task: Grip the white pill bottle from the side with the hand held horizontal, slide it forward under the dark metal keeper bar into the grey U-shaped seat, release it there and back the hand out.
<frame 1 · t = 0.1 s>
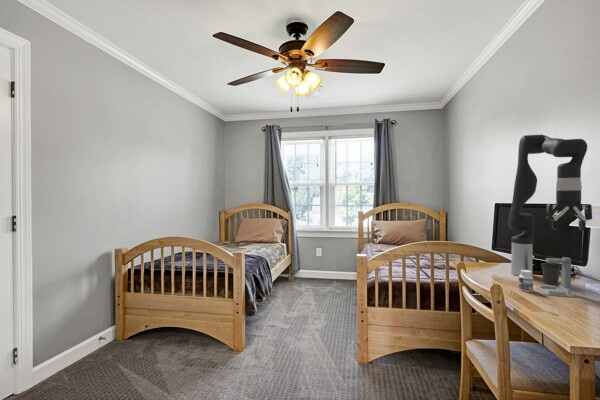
hand: (568, 230, 122), 29 cm above the table, tool pointing down, fingers open, 8 cm apart
coffee cup: (550, 283, 149), on the table
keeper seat: (555, 292, 135), on the table
pill bottle: (525, 290, 138), on the table
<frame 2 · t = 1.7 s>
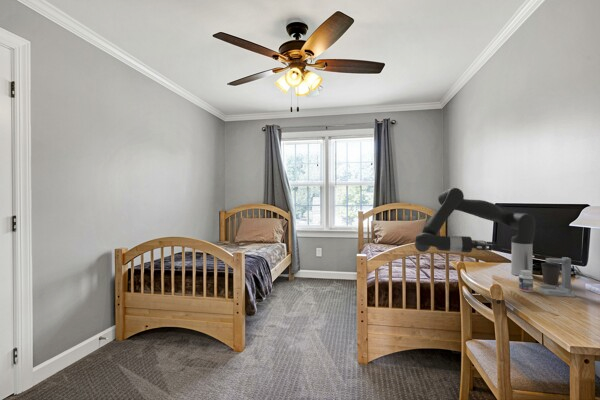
hand: (498, 245, 141), 20 cm above the table, tool horizontal, fingers open, 8 cm apart
nothing on the table moved.
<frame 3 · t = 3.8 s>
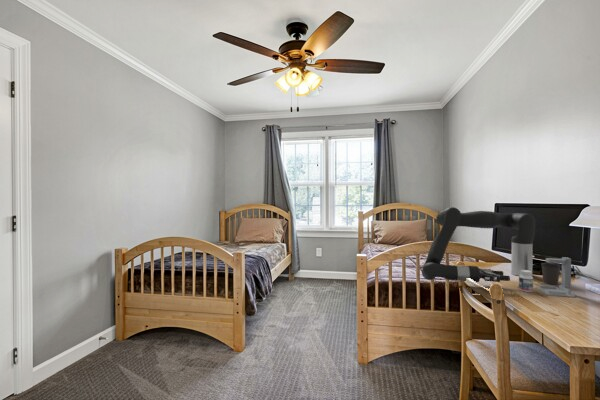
hand: (506, 275, 140), 6 cm above the table, tool horizontal, fingers open, 8 cm apart
nothing on the table moved.
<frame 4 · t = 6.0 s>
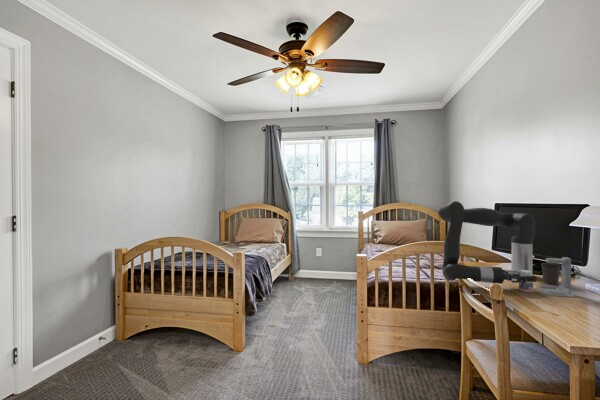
hand: (532, 277, 137), 6 cm above the table, tool horizontal, fingers closed on pill bottle, 5 cm apart
pill bottle: (525, 290, 138), on the table, touching gripper
everything else where it was.
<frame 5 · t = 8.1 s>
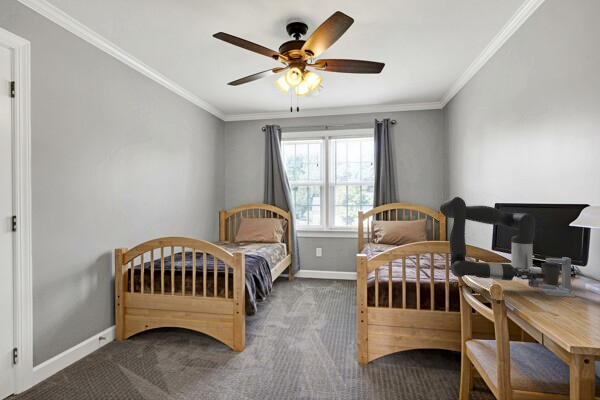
hand: (542, 274, 136), 8 cm above the table, tool horizontal, fingers closed on pill bottle, 5 cm apart
pill bottle: (535, 287, 137), point 1 cm above the table, touching gripper
everything else where it was.
when the fingers open (7 cm above the table, at t = 10.3 s): pill bottle stays where it is, resting on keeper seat.
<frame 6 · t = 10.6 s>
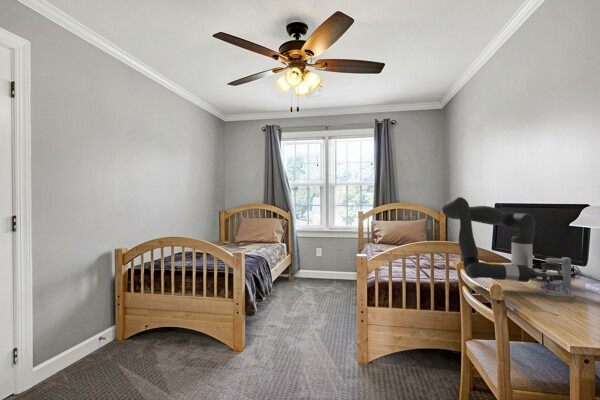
hand: (558, 275, 134), 8 cm above the table, tool horizontal, fingers open, 7 cm apart
pill bottle: (552, 291, 135), resting on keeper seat
everything else where it was.
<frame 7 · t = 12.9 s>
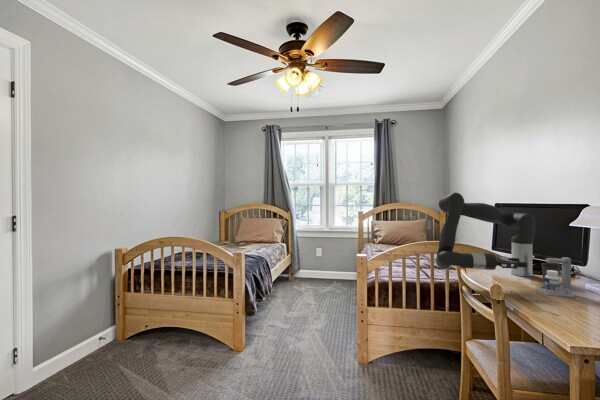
hand: (523, 262, 138), 12 cm above the table, tool horizontal, fingers open, 8 cm apart
nothing on the table moved.
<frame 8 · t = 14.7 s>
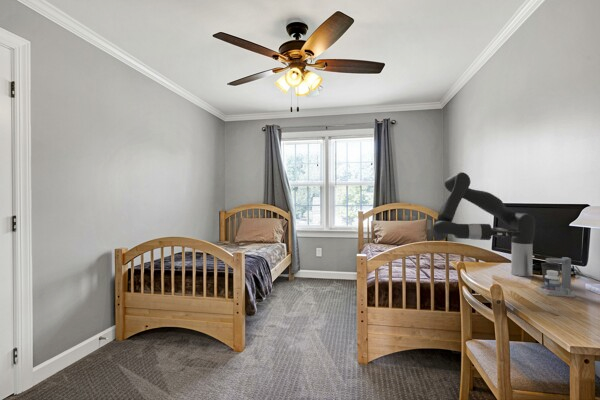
hand: (518, 232, 138), 26 cm above the table, tool horizontal, fingers open, 8 cm apart
nothing on the table moved.
at the end: pill bottle 0.1 cm from the target spot on the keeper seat, point 0.4 cm above the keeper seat's base; pill bottle tilted 0°; the gripper is holding nothing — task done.
